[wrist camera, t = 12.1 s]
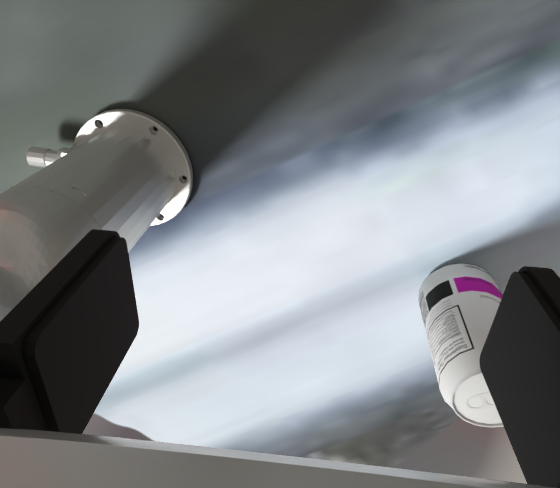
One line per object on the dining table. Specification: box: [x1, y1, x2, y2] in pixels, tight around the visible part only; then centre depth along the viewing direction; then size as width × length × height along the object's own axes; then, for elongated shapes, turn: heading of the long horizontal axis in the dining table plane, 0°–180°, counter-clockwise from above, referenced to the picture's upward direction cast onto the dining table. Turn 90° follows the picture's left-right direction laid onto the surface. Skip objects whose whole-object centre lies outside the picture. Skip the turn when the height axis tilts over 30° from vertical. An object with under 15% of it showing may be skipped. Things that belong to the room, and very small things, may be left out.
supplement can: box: [418, 263, 504, 427], centre depth 42 cm, size 8×8×15 cm
